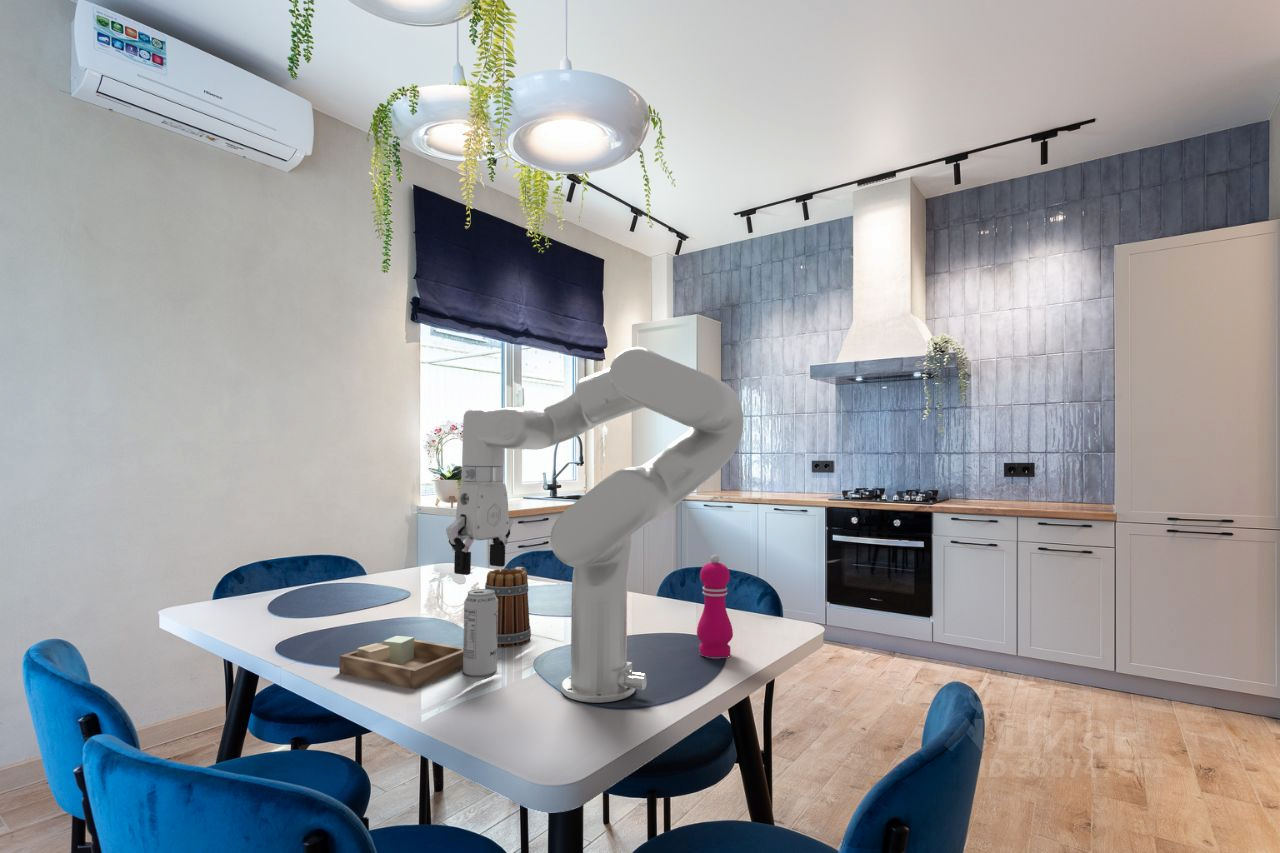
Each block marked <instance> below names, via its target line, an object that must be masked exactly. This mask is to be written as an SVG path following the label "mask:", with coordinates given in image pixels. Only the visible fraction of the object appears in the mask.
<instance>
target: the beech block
mask: <svg viewBox="0 0 1280 853" xmlns="http://www.w3.org/2000/svg"><path fill="white" fill-rule="evenodd" d="M378 643H379V642H375V643H371V644H368V645H365V646H361V647H357V648H356V650H357V657H360V658H366V659H371V660H376V661H381V662H386V663H390V647H389V646H386V645H382V644H378Z"/></svg>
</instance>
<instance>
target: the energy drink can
mask: <svg viewBox="0 0 1280 853" xmlns="http://www.w3.org/2000/svg"><path fill="white" fill-rule="evenodd" d="M497 637H498V599H497V597H496V596H495V591H494V590H491V589H485V588H478V589H471V590H469V591H467V596H466V598H465V599H464V602H463V640H462V642H463V646H462V648H463V669H462V672H463V673H464V674H465V675H467V676H469V677H477V678H478V677H479V678H480V677H484V678H483V680H484V679H489V678H492V677H493V676H494V673H495V672H496V671H497V669H498V647H497ZM489 675H490V676H489ZM485 676H487V677H485Z"/></svg>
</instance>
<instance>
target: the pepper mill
mask: <svg viewBox="0 0 1280 853" xmlns="http://www.w3.org/2000/svg"><path fill="white" fill-rule="evenodd" d="M710 561H711V562H708V563H706V564H705V565H703V566H702V568H701V569H700V573H699V579H700V582H701V583H702V584H703V586H702V592H701V593H702V594H703V596H704V605H703V606H704V607H703V611H702V613H701V615H700V619H699V620H698V624H697V627H696V628H697V629H696V636H697V638H698V640H699V641H700V642H701V643H700V644H699V647H698V651H699V652H700V654H702V655H704V656H708V657H728V656H729V657H731V646H730V645H729V643H730V642H731V640H733V636H734V632H733V629H734V628H733V627H732V623H731V620H730V617H729V615H728V612H727V607H726V596H727V595H728V587H727V585H728V583H729V581H730V578H731V575H730V570H729V568H728V567H727V566H726V565H725V564H723V563H722V562H720V556H718V554H713V555H711V556H710ZM699 652H698V653H699ZM700 654H699V655H700ZM729 657H728V658H729Z"/></svg>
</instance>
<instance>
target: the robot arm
mask: <svg viewBox="0 0 1280 853" xmlns="http://www.w3.org/2000/svg"><path fill="white" fill-rule="evenodd" d="M574 388H575V389H574V392H573V393H572V394H571V395H569V396H568V397H566V398H564V399H563V400H561V401H557V402H555V403H553V404H549V405H548V406H545V407H542V408H539V409H533V408H526V407H518V406H516V407H515V406H513V407H511V406H508V407H504V408H498V409H494V408H493V409H491V408H472V409H468V410H466V411H465V412H464V414H463V419H462V420H463V421H462V422H463V423H462V451H461V452H462V454H461V455H462V456H461V457H462V458H461V460H462V461H461V473H460V475H461V484H460V485H459V491H458V496H457V503H456V512H455V513H456V515H455V520H454V521H453V522H452V523H451V524H450V525H449V526H447V527H446V529H445V533H446V535H447V538H448V544H449V545H450V546H451V551H453V552H454V560H453V561H454V567H453V572H454V574H456V575H461V576H462V575H463V576H468V575H470V574H471V571H472V569H471V565H472V552H471V551H469V550H470V548H471V546H472V544H473V543H474V541H485V540H490V542H491V544H489V566H492V567H500V568H501V567H502V568H503V567H505V565H506V545H507V544H508V539H509V537H510V535H511V530H512V526H513V523H514V521H513V519H512V518H510V517H509V516H510V514H509V499H508V490H507V486H506V483H505V482H504V477H505V475H504V474H505V473H504V472H505V470H504V469H505V449H509V450H541V449H546V448H549V447H552V446H555V445H557V444H560V443H563V442H566V441H569V440H572V439H574V438H576V437H579V436H580V435H583V434H584V433H586V432H588V431H589V430H592V429H594V428H595V427H597V426H598V425H601V424H604V423H606V422H608V421H611V420H615V419H616V418H619V417H622V416H625V415H627V414H630V413H633V412H635V411H638V410H641V409H643V408H645V409H648V410H650V411H652V412H655V413H657V414H659V415H662V416H663V417H666V418H668V419H670V420H673V421H675V422H677V423H679V424H681V425H684V426H687V427H689V429H688V430H687V431H686V432H685V433H684V434H683V435H681V436H680V437H678V438H677V439H675V440H673V441H672V442H671V443H670V444H668V445H667V446H666V447H665V448H664V449H663V450H662V451H660V452H659V453H658V454H656V455H655V456H654V457H652V458H651V459H650V460H648V461H647V462H645V463H644V464H642V465H639V466H629V467H625V468H624V467H623V468H621V469H619V470H616V471H615V472H613V473H611V474H609V475H608V476H607V477H605V478H603V480H601V481H600V482H598V484H596V485H594V486H593V488H591V489H590V490H589V491H587V492H586V493H585V494H584V495H583V496H581V497H580V498H579V499H578V500H576V501H574V503H572V504H571V505H570V506H568V507H567V508H566V509H565V510H564V511H563V512H562V513H561V514H560V515H559V516H558V517H557V518H556V520H555V522H554V523H553V525H552V528H551V531H550V547H551V549H552V550H551V551H552V552H553V554H554V556H555V557H556V558H557V559H558V561H560V562H562V564H564V565H567V566H569V567H572V568H573V571H572V580H571V614H570V615H571V623H570V624H571V626H570V627H571V628H570V629H571V631H570V632H571V633H570V634H571V636H570V639H571V640H570V642H571V643H570V675H569V676H568V677H566V678H565V679H564V680H563V681H562V682H561V687H560V688H561V693H562V694H563V695H564V696H566V698H569V699H572V700H574V701H578V702H583V703H597V704H598V703H599V704H600V703H610V702H616V701H621V700H623V699H626V698H629V697H630V696H631V695H632V694H634V693H635V691H636V689H638V690H641V691H644V690H646V688H647V685H648V684H647V683H648V682H647V681H648V680H647V675H646V674H647V673H642V672H635V671H634V670H633V662H632V661H627V659H628V658H627V656H628V654H627V653H628V652H627V650H628V649H627V647H628V646H627V645H628V644H627V643H628V641H627V640H628V635H627V634H628V632H627V631H628V621H627V620H628V575H629V574H628V573H629V562H630V557H631V556H630V555H631V547H632V546H631V545H632V535H633V534H634V533H636V532H637V531H638V530H640V529H641V528H643V527H644V526H646V525H647V526H648V525H649V524H650V525H651V524H653V523H654V522H657V521H659V520H660V519H662V518H663V517H664V516H665V515H666V514H668V513H669V512H670V511H671V510H672V509H673V508H674V507H676V506H677V505H678V504H679V503H681V502H682V501H683V500H684V499H686V498H687V497H688V496H689V495H691V494H692V493H693V492H694V491H696V490H697V489H698V488H700V487H701V485H703V484H704V483H705V482H707V481H708V480H709V479H710V478H712V477H713V476H714V475H715V474H717V473H718V472H719V471H720V470H721V469H722V468H723V467H724V466H725V465H726V464H727V463H728V462H729V460H731V458H732V456H733V455H734V454H735V452H736V450H737V449H738V447H739V444H740V442H741V438H742V436H743V433H744V432H743V431H744V413H743V412H744V411H743V407H742V404H741V400H740V398H739V396H738V394H737V393H736V392H735V390H734V389H733V388H732V387H731V386H730V385H729V384H728V383H726V382H724V381H722V380H721V379H718V378H715V377H714V376H712V375H710V374H707V373H705V372H702V371H700V370H697V369H695V368H692V367H690V366H687V365H685V364H682V363H679V362H678V361H674V360H673V359H671V358H668V357H665V356H664V355H663V356H662V355H661V354H658V353H657V352H655V351H654V350H651V349H649V348H646V347H642V346H635V347H634V346H633V347H630V348H629V347H628V348H626V349H624V350H622V351H621V352H620V353H618V354H617V355H616V356H615V358H614V359H613V360H612V362H611V364H610V367H607V368H606V369H603V370H601V371H598V372H595V373H593V374H589V375H588V376H585V377H583V378H581V379H579V380H578V381H577V382H576V384H575V386H574Z"/></svg>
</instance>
